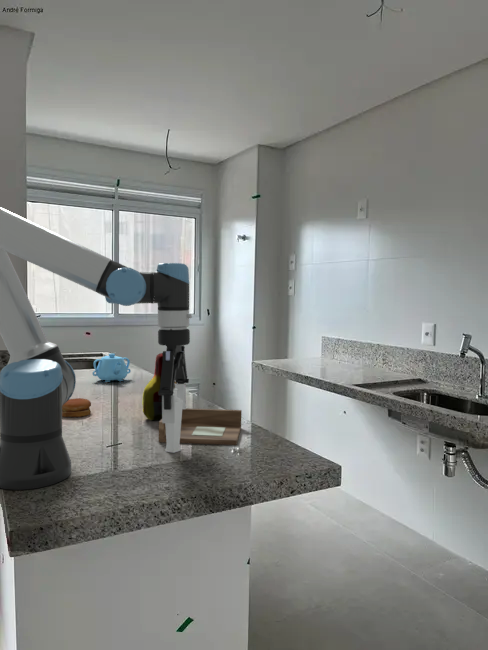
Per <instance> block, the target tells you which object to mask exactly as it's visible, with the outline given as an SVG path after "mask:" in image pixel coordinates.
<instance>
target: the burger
mask: <svg viewBox="0 0 488 650" xmlns="http://www.w3.org/2000/svg"><path fill="white" fill-rule="evenodd" d="M90 407H92V402H91V400H89V399H86V398H79V397H78V398H70V399H69V400H68V401H67V402H66V403H65V404H64V405H63V406H62V418H64V417H65V418H68V417H71V418H78V417H79V418H81V417H86V416H90V415H91V413H92V412H91V409H90Z"/></svg>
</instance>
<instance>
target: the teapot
mask: <svg viewBox="0 0 488 650" xmlns="http://www.w3.org/2000/svg"><path fill="white" fill-rule="evenodd" d="M125 360H126V361H127V363H125ZM97 362H98V364H97ZM130 363H131V361H130V359H129V358H128V357H125V356H124V357H122V356H117V355H116V353H108V355H104V356H102V357H101V358H96V359H95V360H94V361H93V368H94V370H93V372H92V376H93V377H97V378H98V379H99V380H100V381H101V380H105V381H104V383H105V382H110V383H111V381H117V382H118V381H123V382H124V379H126V378H127V376H128V374H130V373H131V369H130V368H129V367H130Z"/></svg>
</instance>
